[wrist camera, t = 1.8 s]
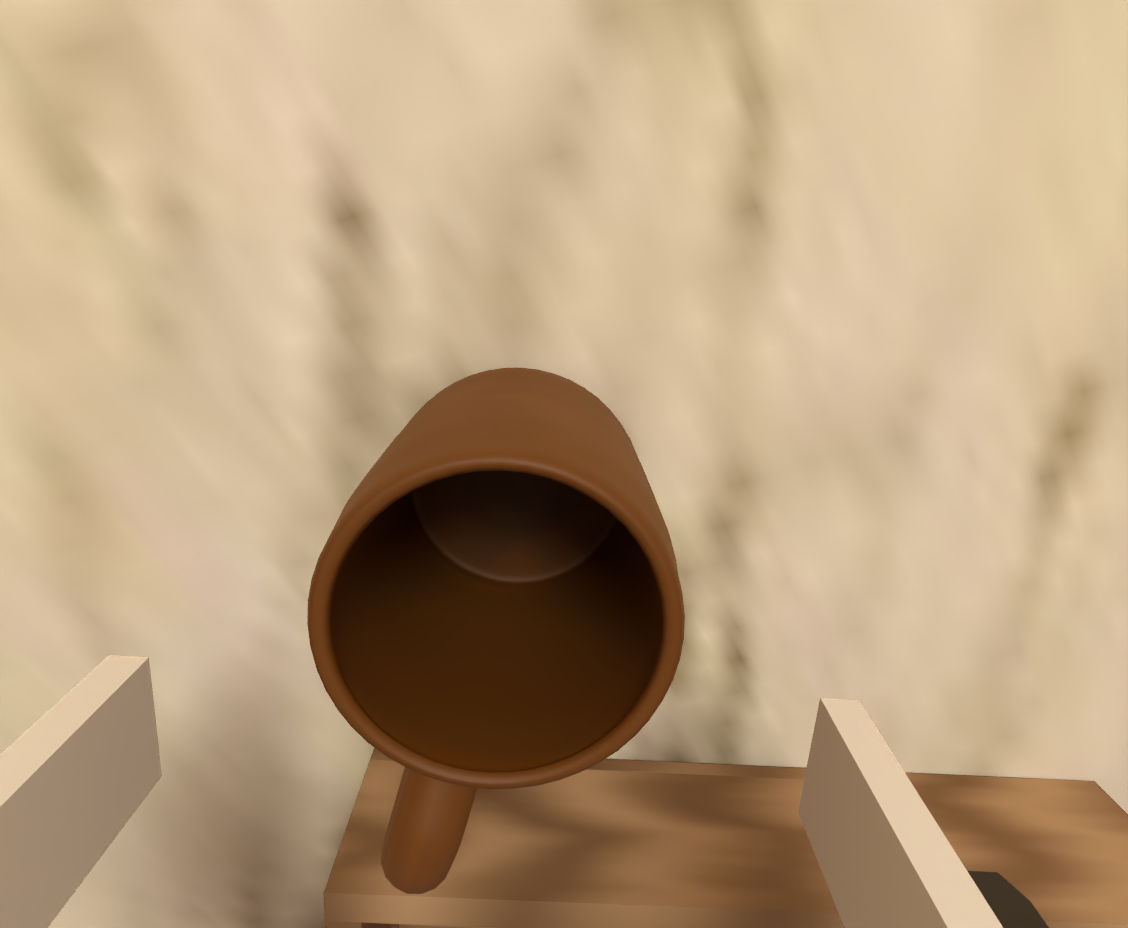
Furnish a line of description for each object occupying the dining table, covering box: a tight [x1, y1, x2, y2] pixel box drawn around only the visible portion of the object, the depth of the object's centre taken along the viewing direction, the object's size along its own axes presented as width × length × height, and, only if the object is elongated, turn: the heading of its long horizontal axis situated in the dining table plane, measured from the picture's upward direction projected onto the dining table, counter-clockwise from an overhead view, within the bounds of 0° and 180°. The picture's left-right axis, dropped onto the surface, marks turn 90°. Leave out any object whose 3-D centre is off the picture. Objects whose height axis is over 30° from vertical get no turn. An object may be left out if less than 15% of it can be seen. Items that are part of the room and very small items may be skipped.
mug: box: [308, 368, 685, 894], centre depth 19 cm, size 12×8×9 cm, turn 162°
